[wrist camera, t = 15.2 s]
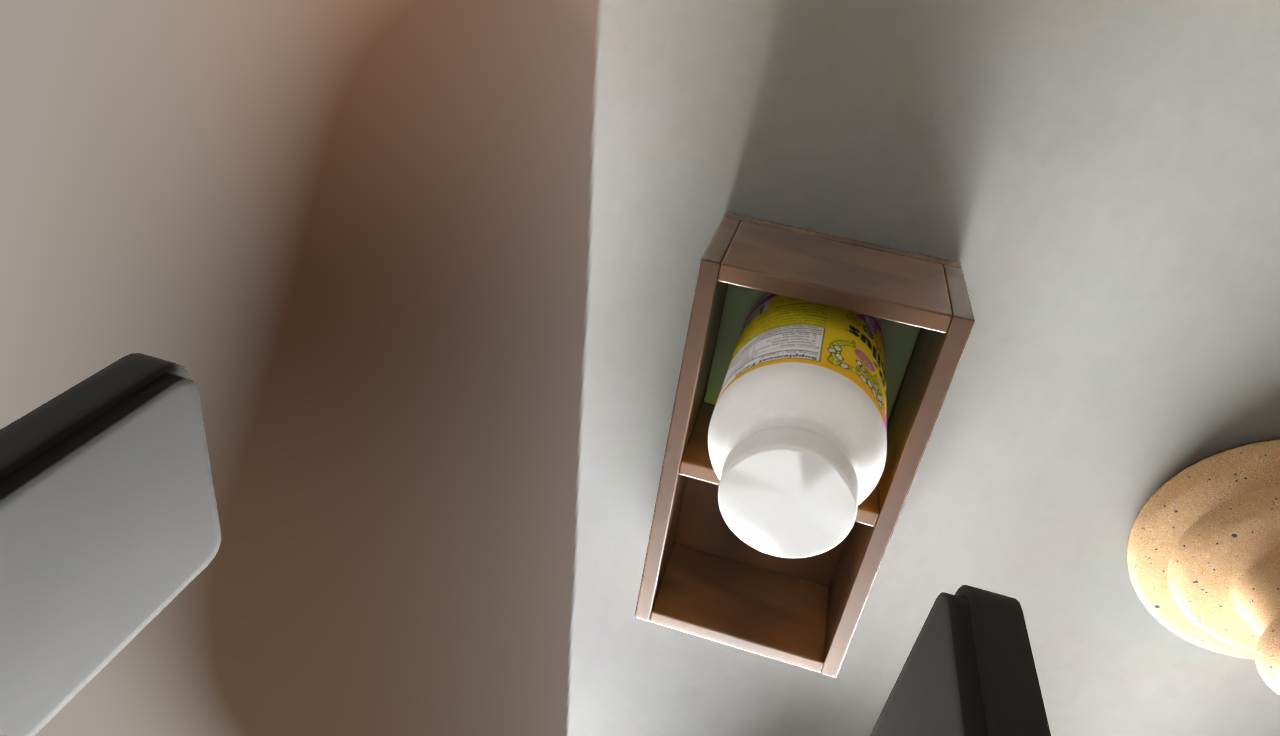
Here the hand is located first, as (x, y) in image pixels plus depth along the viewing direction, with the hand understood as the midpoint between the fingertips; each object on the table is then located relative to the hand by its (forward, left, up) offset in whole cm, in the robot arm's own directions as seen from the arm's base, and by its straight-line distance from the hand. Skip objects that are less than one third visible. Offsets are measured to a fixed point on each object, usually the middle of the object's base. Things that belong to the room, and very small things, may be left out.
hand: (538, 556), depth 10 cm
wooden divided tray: (+4, -15, -29) cm, 33 cm away
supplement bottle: (+4, -10, -28) cm, 30 cm away
